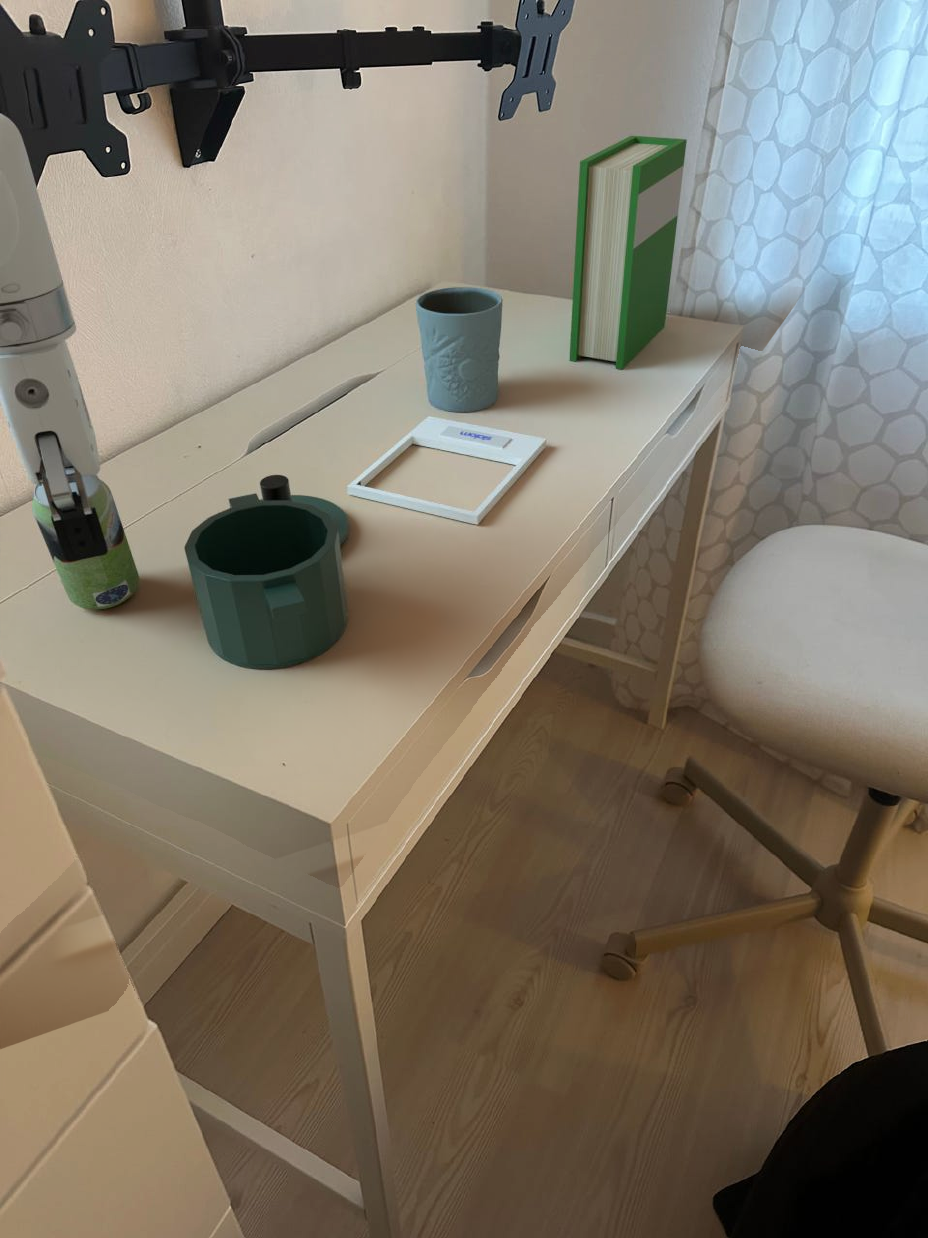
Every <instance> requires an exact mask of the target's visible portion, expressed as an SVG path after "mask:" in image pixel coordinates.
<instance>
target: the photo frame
mask: <svg viewBox="0 0 928 1238" xmlns="http://www.w3.org/2000/svg"><path fill="white" fill-rule="evenodd" d="M412 445H417V446H420V447H421V446H422V447H426V448H431V449H435V450H442V451H447V452H451V453H455V454H461V455H466V456H470V457H475V458H480V459H484V460H490V461H494V462H498V463H504V464H509V465H513V466H514V467H513V468H512V469H511V470H510V471H509V473H508V474H506V476H505V477H504V478H503V479H502V480H501V481H500V483H498V485H496V487H495V488H494V489H493V490H492V491H491V493H489V494H488V496H487V497H485V499H484V500H483V501H482V503H480V505H479V506H478V507H477V508H476V509H475V510H473V511H472V510H468V509H464V508H460V507H455V506H452V505H447V504H443V503H437V502H433V501H429V500H425V499H420V498H416V497H412V496H408V495H405V494H399V493H394V492H391V491H386V490H382V489H377V488H373V487H369V486H367V484H368V483H369V482H371V481H372V480H373V479H374V478H375V477H376V476H377V475H379V474H380V473H381V472H382V471H383V470H384V469H386V467H387V466H389V465H390V464H391V463H393V461H394V460H396V459H397V458H398V457H400V455H401V454H402V453H403V452H405V451H406V450H407V449H408V448H409V447H410V446H412ZM546 447H547V438H545V437H539V436H533V435H529V434H523V433H518V432H513V431H509V430H504V429H503V430H502V429H498V428H492V427H487V426H482V425H476V424H472V423H471V424H470V423H468V422H462V421H455V420H451V419H446V418H441V417H436V416H430V415H428V416H427V417H426V418H425V419H424V420H422V421H421V422H420V423H419V424H418V425H417V426H415V427H414V428H413V429H412V430H411V431H410V432H409V433H407V434H406V435H405V436H403V438H402V439H400V440H399V441H398V442H397V443H395V444H394V445H393V446H392V447H391V448H389V449H388V450H387V451H386V452H385V453H384V454H383V455H381V456H380V457H379V458H378V459H377V460H376V461H375V462H374V463H372V464H371V465H370V466H369V467H367V468H366V469H365V470H364V471H363V472H362V473H360V475H358V476H357V477H356V478H354V480H352V481H351V482H350V483H349V484H348V485H347V486H346V489H347V495H349V496H352V497H353V496H354V497H359V498H363V499H367V500H371V501H375V502H380V503H383V504H387V505H391V506H396V507H399V508H405V509H409V510H413V511H418V512H421V513H426V514H431V515H435V516H439V517H443V518H447V519H451V520H456V521H459V522H464V523H468V524H473V525H476V526H477V525H479V524H480V523H481V521H482V520H483V519H484V518H485V517H486V516H487V514H489V512H490V511H491V510H492V509H493V508H494V506H495V505H496V504H498V502H499V501H500V499H502V498H503V497H504V495H505V494H506V493H507V492H508V491H509V490H510V489H511V488H512V486H513V485H514V484H515V483H516V482H517V481H518V479H519V478H520V477H521V476H522V475H523V474H524V472H525V471H526V470H527V469H528V468H529V467H530V466H531V464H532V463H533V462H534V461H535V460H536V459H537V458H538V457H539V455H540V454H541V453H542V452H543V451H544V450H545V449H546Z"/></svg>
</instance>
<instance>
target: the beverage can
mask: <svg viewBox="0 0 928 1238" xmlns="http://www.w3.org/2000/svg"><path fill="white" fill-rule="evenodd" d="M72 473H75V471H74V468H68V469H66V474H72ZM83 480H84V484H85V487H86V491H87V495H88V498H89V502H90V505H91V508H93V507H95V509H96V512H97V515H98V518H99V522H100V525H101V528H102V531H103V535H104V538H105V541H106V544H107V549H108V552H107V554H105V555H101V556H97V557H92V558H87V559H82V560H77V561H73V562H68V561H66V560H65V557H64V554H63V551H62V549H61V546H60V543H59V540H58V537H57V534H56V531H55V528H54V525H53V522H52V520H51V516H52V513H51V510H50V507H49V503H48V500H47V496H46V493H45V490H44V486H43V484H42V486H38V485H36V484H35V487H34V489H33V498H32V503H31V512H32V514H33V516H34V519H35V521H36V523H37V525H38V528H39V531H40V533H41V536H42V538H43V539H44V542H45V545H46V547H47V550H48V552H49V554H50V557H51V559H52V562H53V564H54V566H55V569H56V571H57V573H58V576H59V578H60V581H61V583H62V585H63V588H64V590H65V593H66V595H67V597H68V599H69V601H70V602H71V603H72V604H73V605H75V606H76V607H78V608H82V609H85V610H105V609H111V608H113V607H116V606H118V605H120V604H122V603H123V602H125V601H126V600H128V599H129V598H130V597H132V596H133V594H134V593H135V592H136V591H137V589H138V587H139V584H140V575H139V572H138V568H137V566H136V562H135V559H134V557H133V554H132V550H131V547H130V544H129V541H128V538H127V535H126V532H125V529H124V526H123V523H122V520H121V517H120V513H119V511H118V508H117V504H116V502H115V499H114V495H113V493H112V490H111V489H110V487H109V486H108V485H107V483H106V482H105V481H103V480H101V479H100V478H99V476H98V474H97V475H96V476H93V477H92V475H87V476H83ZM69 485H70V488H71V490H72V492H75V491H76V492H77V494H78V495H79V493H78V489H77V486H76V482H73V483H69Z"/></svg>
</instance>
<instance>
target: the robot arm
mask: <svg viewBox="0 0 928 1238" xmlns="http://www.w3.org/2000/svg"><path fill="white" fill-rule="evenodd" d="M24 142H25V141H24V139H23V136H22V134H21V132H20V129H19V128H18V127H17V126H16V124H15V123H14V121H12V120H11V119H10V118H9V117H8V116H6V115H4V114H3V113H0V405H1V407H2V410H3V413H4V415H5V416H4V417H5V419H6V421H7V424H8V427H9V430H10V433H11V435H12V438H13V441H14V443H15V447H16V449H17V451H18V454H19V456H20V459H21V462H22V465H23V467H24V469H25V472H26V474H27V477H28V478H29V480H30V482H31V484H34V485H35V486H36V485H38V486H42V484H43V486H44V490H45V493H46V496H47V500H48V503H49V507H50V510H51V513H52V516H51V520H52V522H53V525H54V528H55V531H56V534H57V537H58V540H59V543H60V546H61V549H62V551H63V554H64V557H65V560H66V561H68V562H73V561H77V560H82V559H87V558H92V557H97V556H101V555H105V554H107V552H108V549H107V544H106V541H105V538H104V535H103V531H102V528H101V525H100V522H99V518H98V515H97V512H96V509H95V507H93V508H91V505H90V502H89V498H88V495H87V491H86V487H85V484H84V480H83V476H87V475H92V477H93V476H96V475H97V476H98V474H99V472H100V470H101V463H100V456H99V455H100V454H99V451H98V443H97V436H96V433H95V429H94V426H93V423H92V420H91V419H92V418H91V417H90V413H89V411H88V407H87V404H86V400H85V397H84V394H83V391H82V387H81V384H80V380H79V377H78V374H77V370H76V368H75V364H74V361H73V357H72V355H71V352H70V349H69V347H68V344H67V341H66V340H68V339H69V338H71V337H72V336H73V335H74V334H75V333H76V331H77V324H76V320H75V319H74V315H73V311H72V308H71V304H70V301H69V297H68V294H67V290H66V286H65V283H64V280H63V276H62V273H61V269H60V266H59V263H58V262H59V261H58V259H57V255H56V252H55V248H54V244H53V241H52V237H51V233H50V231H49V227H48V223H47V219H46V217H45V213H44V210H43V206H42V203H41V198H40V195H39V191H38V187H37V185H36V181H35V177H34V173H33V170H32V167H31V163H30V159H29V155H28V152H27V149H26V146H25V143H24ZM68 468H74V471H75V473H72V474H66V469H68ZM73 482H76V486H77V489H78V493H79V495H78V494H77V492H76V491H75V492H72V490H71V488H70V485H69V483H73Z"/></svg>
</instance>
